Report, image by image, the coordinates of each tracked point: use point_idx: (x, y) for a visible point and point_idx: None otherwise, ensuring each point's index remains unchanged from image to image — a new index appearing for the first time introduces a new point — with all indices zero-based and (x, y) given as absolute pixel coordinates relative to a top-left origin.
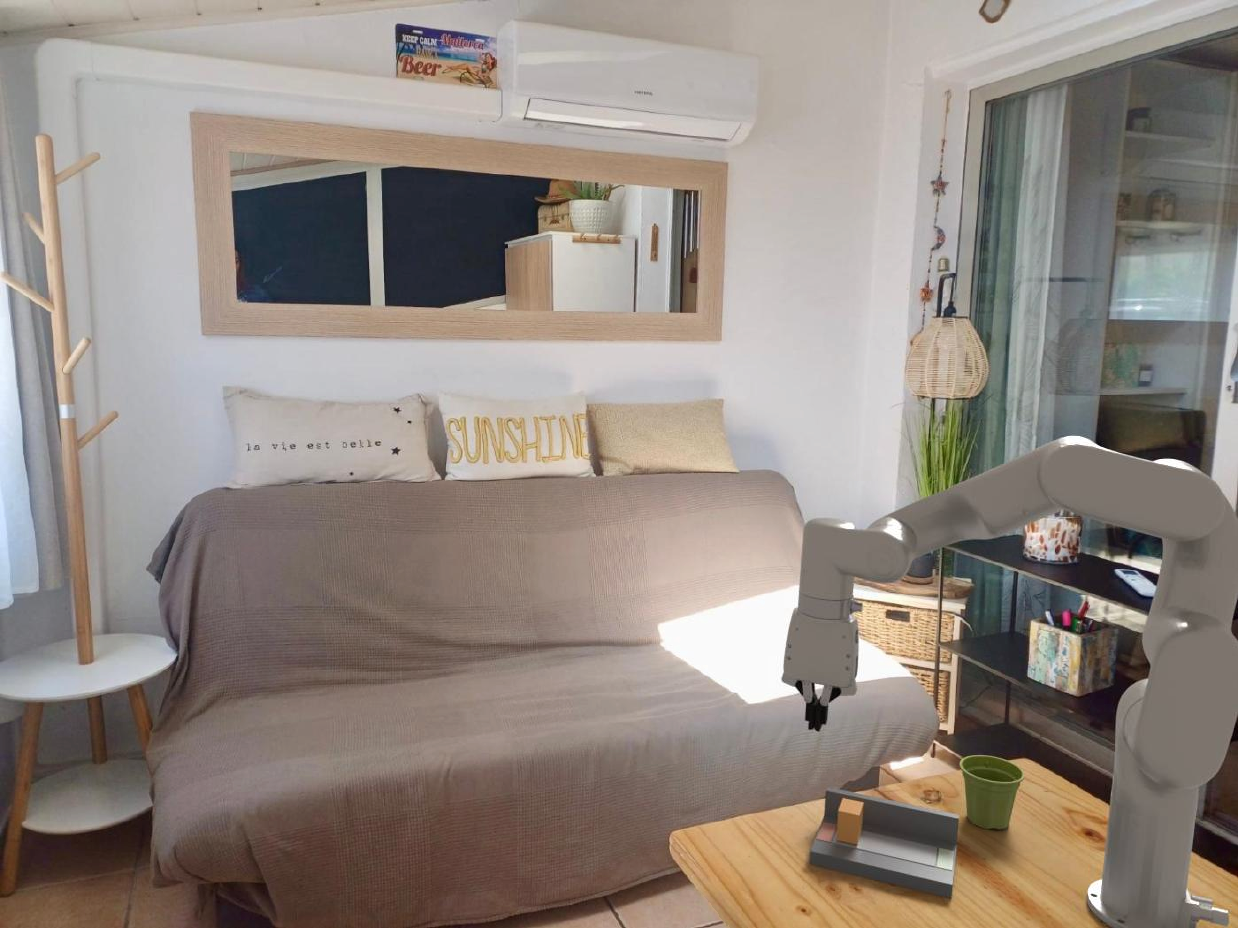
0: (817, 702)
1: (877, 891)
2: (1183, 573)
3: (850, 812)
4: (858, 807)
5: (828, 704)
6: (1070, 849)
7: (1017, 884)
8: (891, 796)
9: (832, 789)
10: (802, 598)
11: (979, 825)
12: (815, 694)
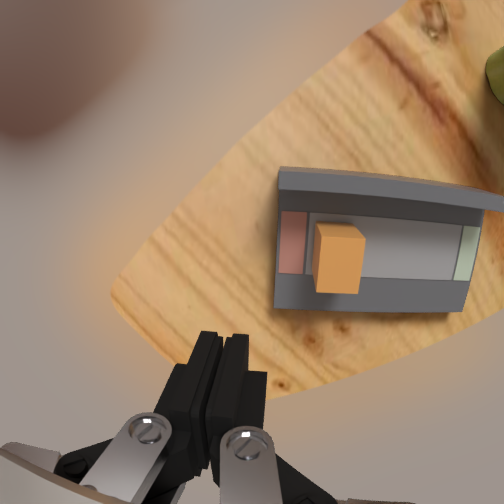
0: (203, 425)
1: (369, 324)
2: None
3: (340, 290)
4: (355, 264)
5: (262, 425)
6: None
7: None
8: (378, 30)
9: (292, 177)
10: None
11: (502, 103)
12: (180, 457)
